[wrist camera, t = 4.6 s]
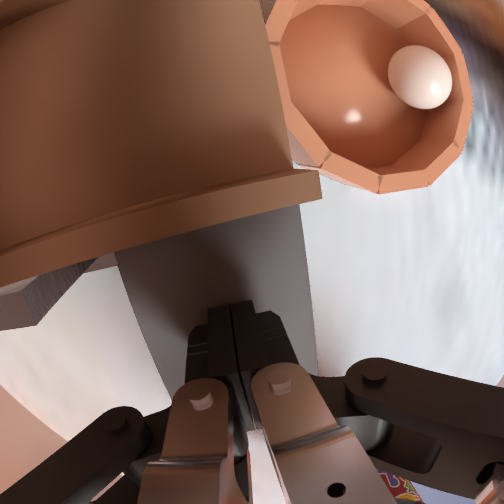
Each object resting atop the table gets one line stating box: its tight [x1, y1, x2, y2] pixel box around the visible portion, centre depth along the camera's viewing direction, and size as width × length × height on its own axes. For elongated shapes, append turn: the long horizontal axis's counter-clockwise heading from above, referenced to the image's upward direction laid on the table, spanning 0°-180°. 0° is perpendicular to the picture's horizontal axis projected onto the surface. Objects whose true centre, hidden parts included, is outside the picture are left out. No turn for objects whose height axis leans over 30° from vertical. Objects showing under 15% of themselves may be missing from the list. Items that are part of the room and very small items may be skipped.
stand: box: [0, 252, 118, 331], centre depth 9 cm, size 6×14×8 cm, turn 10°
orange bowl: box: [265, 0, 473, 194], centre depth 12 cm, size 11×11×4 cm
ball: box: [388, 45, 452, 109], centre depth 12 cm, size 4×4×4 cm
